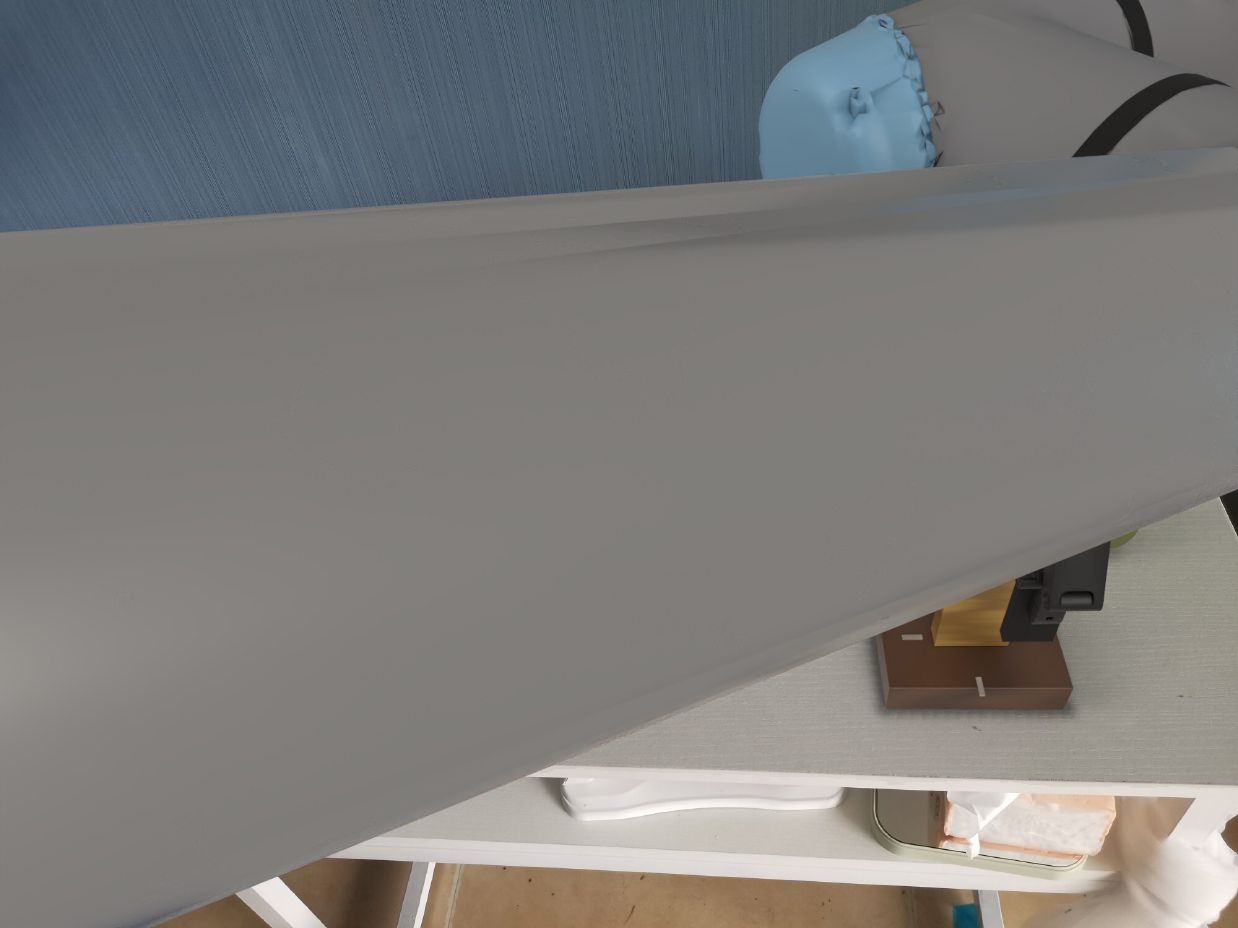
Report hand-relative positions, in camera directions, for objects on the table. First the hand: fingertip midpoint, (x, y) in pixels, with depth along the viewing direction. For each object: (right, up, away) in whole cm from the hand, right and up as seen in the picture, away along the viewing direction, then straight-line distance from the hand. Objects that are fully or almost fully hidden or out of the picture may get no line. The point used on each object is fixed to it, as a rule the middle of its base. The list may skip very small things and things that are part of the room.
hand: (999, 541), depth 55 cm
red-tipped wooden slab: (+1, -8, +8) cm, 11 cm away
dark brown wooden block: (+2, -10, +10) cm, 14 cm away
